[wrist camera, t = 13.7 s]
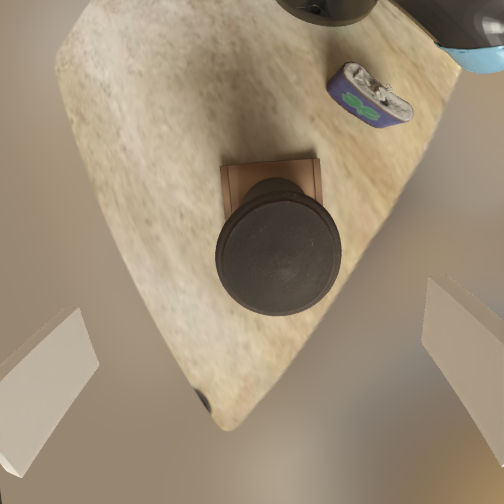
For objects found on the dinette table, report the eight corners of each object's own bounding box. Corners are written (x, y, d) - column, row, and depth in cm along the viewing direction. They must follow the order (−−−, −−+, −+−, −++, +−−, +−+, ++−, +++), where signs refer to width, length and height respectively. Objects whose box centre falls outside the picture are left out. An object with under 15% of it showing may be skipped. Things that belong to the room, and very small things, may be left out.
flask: (389, 118, 37) (425, 108, 27) (378, 135, 38) (412, 129, 27) (332, 76, 36) (352, 51, 25) (320, 92, 37) (337, 72, 26)
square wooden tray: (222, 166, 40) (220, 166, 38) (317, 158, 39) (319, 158, 37) (232, 257, 43) (230, 261, 41) (322, 250, 42) (324, 254, 40)
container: (224, 214, 40) (185, 271, 21) (271, 159, 38) (275, 164, 19) (276, 258, 42) (282, 345, 22) (324, 205, 39) (374, 255, 20)
